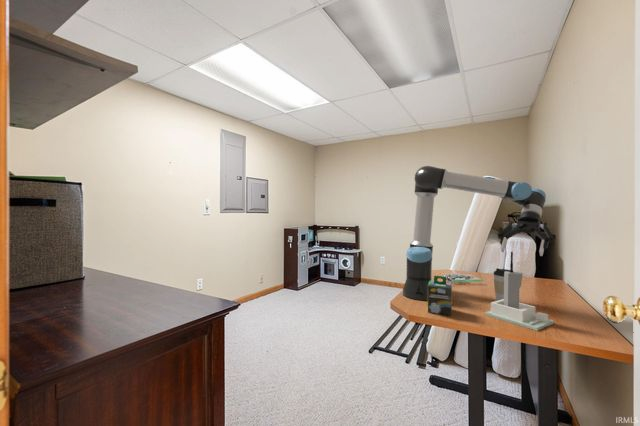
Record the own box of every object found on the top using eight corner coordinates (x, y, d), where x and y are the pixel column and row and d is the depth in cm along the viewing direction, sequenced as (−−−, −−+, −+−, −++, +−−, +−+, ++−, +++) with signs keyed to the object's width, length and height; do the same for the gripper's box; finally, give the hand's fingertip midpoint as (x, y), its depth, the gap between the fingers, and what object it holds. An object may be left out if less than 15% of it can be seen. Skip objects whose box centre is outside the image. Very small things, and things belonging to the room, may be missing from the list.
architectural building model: (484, 314, 115) (484, 302, 115) (502, 309, 122) (502, 297, 122) (537, 330, 99) (537, 316, 99) (553, 323, 107) (554, 309, 107)
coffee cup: (518, 302, 132) (519, 269, 132) (512, 306, 126) (512, 272, 126) (496, 297, 139) (497, 266, 139) (489, 301, 133) (490, 269, 133)
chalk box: (451, 309, 121) (452, 274, 121) (451, 316, 112) (452, 279, 112) (428, 306, 125) (429, 272, 125) (427, 312, 116) (427, 276, 116)
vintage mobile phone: (521, 316, 110) (522, 252, 110) (507, 315, 111) (508, 251, 111) (517, 313, 114) (518, 251, 114) (503, 312, 115) (504, 250, 115)
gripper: (567, 223, 122) (560, 261, 112) (501, 221, 140) (489, 254, 130) (565, 210, 118) (557, 249, 108) (497, 210, 137) (485, 243, 127)
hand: (520, 252), depth 119 cm, fingers open, 13 cm apart
